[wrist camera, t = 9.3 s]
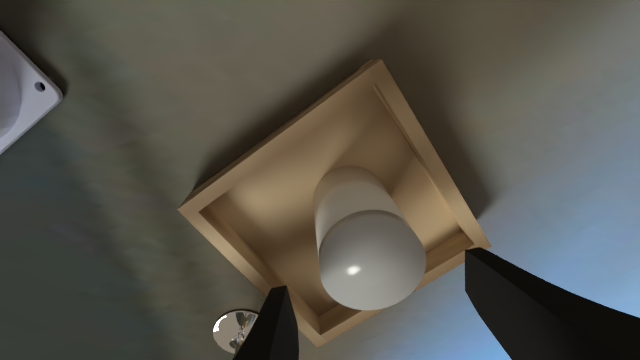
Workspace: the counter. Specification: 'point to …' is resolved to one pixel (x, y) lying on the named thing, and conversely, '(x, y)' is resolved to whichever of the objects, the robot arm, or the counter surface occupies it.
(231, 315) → the wineglass
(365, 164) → the tray
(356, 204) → the shaker
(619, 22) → the counter surface
